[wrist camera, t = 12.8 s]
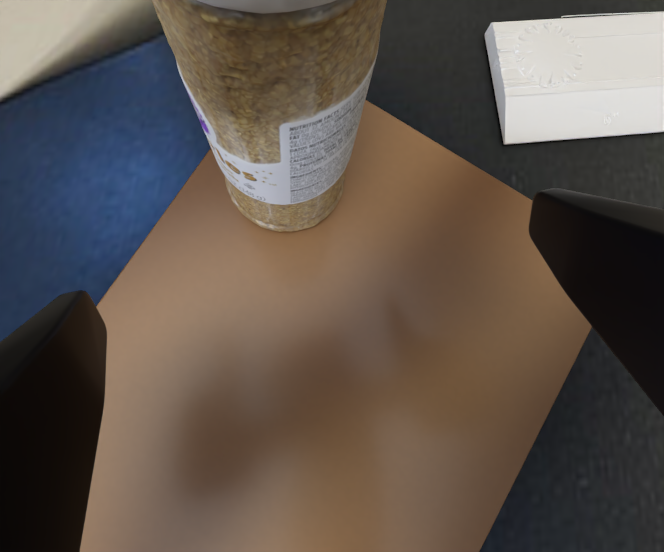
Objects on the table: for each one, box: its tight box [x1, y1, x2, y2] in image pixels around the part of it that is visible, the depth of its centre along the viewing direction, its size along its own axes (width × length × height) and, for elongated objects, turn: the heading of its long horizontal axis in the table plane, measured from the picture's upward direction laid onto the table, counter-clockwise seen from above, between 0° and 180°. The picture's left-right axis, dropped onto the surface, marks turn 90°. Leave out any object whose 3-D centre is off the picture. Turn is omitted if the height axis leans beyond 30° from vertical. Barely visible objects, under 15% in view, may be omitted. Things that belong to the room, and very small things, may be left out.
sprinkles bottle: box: [152, 0, 387, 232], centre depth 11 cm, size 5×5×14 cm
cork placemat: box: [80, 100, 592, 552], centre depth 17 cm, size 16×22×1 cm
